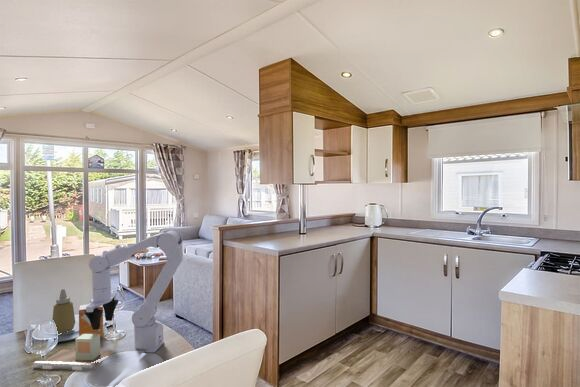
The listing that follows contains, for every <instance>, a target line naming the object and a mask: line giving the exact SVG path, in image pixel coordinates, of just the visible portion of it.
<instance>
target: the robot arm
mask: <svg viewBox="0 0 580 387" xmlns="http://www.w3.org/2000/svg"><path fill="white" fill-rule="evenodd" d="M149 248H154V249H158V248H159V249H160V250H161V251H162V252H163V253H164V254H165V258H166V263H165V264H164V266H163V267H162V269H161V271H160V272H159V275H158V277H157V278H156V280H155V281H154V283H153V285H152V287H151V288H150V291H149V292H148V294H147V295H146V298H145V299H144V301H142V303H141V305H140V306H139V307H138V308H137V310H136V311H134V312H133V313H132V316H131V322H132V324H133V326H134V328H133V330H134V331H133V332H134V348H135V349H137V350H143V351H144V352H143V353H156V351H158V350H159V349H160V347H162V345H163V344H165V341H164V325H163V324H162V323H161V322H157V321H156V318H155V315H156V313H157V311H158V306H159V303H160V300H161V298H162V296H163V295H164V293H165V291H166V290H167V288H168V286H169V284H170V282H171V281H172V279H173V277H174V276H175V274H176V272H177V270H178V268H179V266H180V265H181V263H182V261H183V259H184V253H183V250H184V249H183V238H182V236H181V234H180V232H178V231H177V230H175V229H170V230H168V231H166V232H165V231H164V232H159V233H157V234H154V235H151V236H148V237H146V238H145V239H143V240H140V241H138V242H136V243H134V244H131V245H125V244H117V245H115V247H114V248H112V249H110V250H104V251H102V253H100V254H98V255H97V254H96V255H94V256H93V257H92V258H91V259H90V260H89V263H88V268H89V269H90V270H91V271H92V273H91V275H92V276H91V278H92V279H91V280H92V299H90V301H89V302H90V303H88V304H89V305H88V306H87V307H86V310H85V315H86V316H87V317H88V319H89V321H90V323H91V326H92V329H93V330H98V329H99V328H100V319H101V315H102V312H103V313H104V319H105V321H107V322H108V321H109V322H111V321H113V319H114V315H115V314H114V313H115V310H116V307H117V306H118V303H119V299H117V293H115V292H112V289H111V287H112V286H111V284H112V283H111V281H112V280H111V278H112V277H111V267H114V266H117V265H119V264H121V263H123V262H124V263H125V262H126V261H128V260H130V259H131V257H132V255H133V254H136V253H138V252H141V251H143V250H146V249H149ZM102 305H103V310H99V309H98V307H100V306H102Z"/></svg>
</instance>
